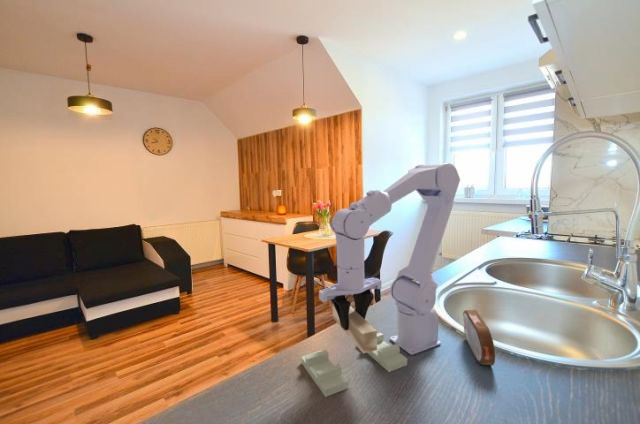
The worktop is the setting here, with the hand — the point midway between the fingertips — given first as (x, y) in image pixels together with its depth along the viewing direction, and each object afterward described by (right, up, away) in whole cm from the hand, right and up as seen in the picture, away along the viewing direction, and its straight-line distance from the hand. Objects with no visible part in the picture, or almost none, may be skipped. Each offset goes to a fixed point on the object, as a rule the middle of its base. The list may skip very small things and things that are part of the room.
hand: (352, 325), depth 66 cm
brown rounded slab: (+29, -8, +4) cm, 30 cm away
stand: (0, -9, +1) cm, 9 cm away
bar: (0, -1, 0) cm, 2 cm away
